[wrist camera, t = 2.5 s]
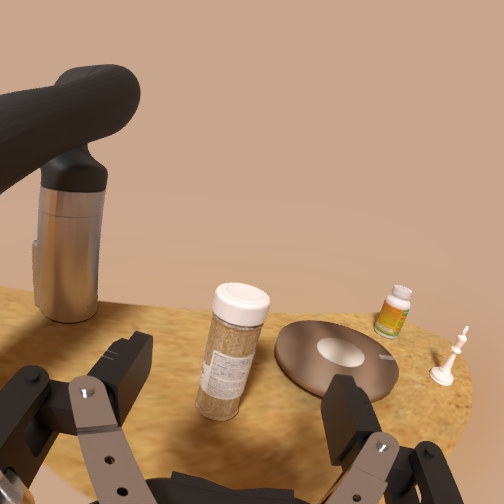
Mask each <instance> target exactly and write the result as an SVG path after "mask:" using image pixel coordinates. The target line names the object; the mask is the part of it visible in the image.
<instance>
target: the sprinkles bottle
mask: <svg viewBox="0 0 504 504" xmlns="http://www.w3.org/2000/svg"><path fill="white" fill-rule="evenodd" d="M269 307H270V298H269V296H268V295H267V294H266V293H264V292H263V291H262V290H260V289H258V288H256V287H253V286H250V285H246V284H242V283H225V284H222V285H220V286H218V287H217V289H216V291H215V295H214V300H213V305H212V309H213V317H212V322H211V327H210V332H209V337H208V342H207V345H206V349H205V354H204V359H203V364H202V369H201V375H200V385H199V390H198V395H197V397H196V401H195V403H196V408H197V409H198V411H199V412H200V413H201V414H202V415H203V416H205V417H207V418H209V419H212V420H216V421H226V420H229V419H231V418H233V417H234V416H235V415H236V414H237V412H238V408H239V402H240V398H241V395H242V393H243V391H244V388H245V385H246V382H247V378H248V375H249V372H250V368H251V365H252V362H253V358H254V355H255V352H256V345H257V342H258V338H259V335H260V331H261V327H262V326H263V324H264V322H265V321H266V318H267V315H268V311H269Z"/></svg>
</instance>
